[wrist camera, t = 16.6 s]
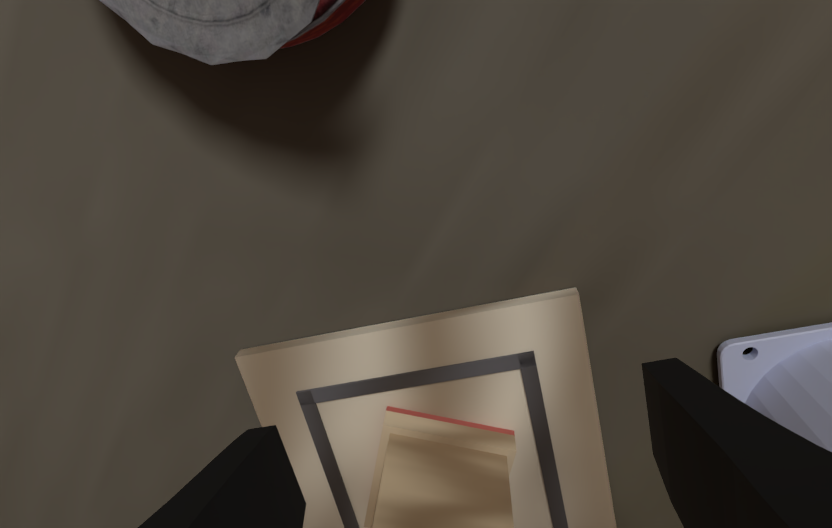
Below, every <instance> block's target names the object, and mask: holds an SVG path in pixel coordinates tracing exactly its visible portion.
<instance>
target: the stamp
mask: <svg viewBox="0 0 832 528" xmlns="http://www.w3.org/2000/svg"><path fill="white" fill-rule="evenodd" d="M516 452H517V450H516V442H515V434H514V431H513V430H508V429H503V428H498V427H492V426H487V425H482V424H477V423H472V422H467V421H462V420H457V419H452V418H446V417H441V416H436V415H431V414H426V413H421V412H416V411H411V410H406V409H400V408H395V407H390V406H387V408H386V413H385V418H384V423H383V428H382V433H381V438H380V444H379V449H378V454H377V459H376V465H375V470H374V475H373V480H372V486H371V491H370V496H369V501H368V507H367V512H366V517H365V522H364V527H367V528H514V523H513V513H512V503H511V493H510V483H509V475H510V472H511V468H512V465H513V462H514V458H515V455H516Z"/></svg>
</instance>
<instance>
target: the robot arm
mask: <svg viewBox="0 0 832 528" xmlns="http://www.w3.org/2000/svg"><path fill="white" fill-rule="evenodd" d="M749 347H753V350H752V351H751V352H750V353H749V354H746V355H742V354H743V351H744V350H745V349H747V348H749ZM717 363H718V376H719V386H717V385H716V384H714V383H713V382H711V381H710V380H708V379H707V378H705V377H704V376H702V375H701V374H700V373H698V372H697V371H695V370H694V369H692V368H691V367H689V366H688V365H686V364H685V363H683V362H682V361H680V360H679V359H677V358H671V359H665V360H659V361H654V362H648V363H642V370H643V378H644V386H645V394H646V402H647V410H648V418H649V426H650V434H651V441H652V449H653V455H654V457H655V460H656V463H657V465H658V468H659V471H660V474H661V476H662V479H663V482H664V484H665V487H666V490H667V492H668V495H669V497H670V500H671V502H672V505H673V507H674V509H675V511H676V512H677V514H678V516H679V518H680V520H681V522H682V524H683V526H684V528H832V322H831V323H825V324H819V325H813V326H807V327H801V328H795V329H789V330H783V331H777V332H771V333H765V334H759V335H753V336H747V337H741V338H735V339H730V340H727V341H724V342H723V343H722V344H720V346H719V347H718V349H717ZM305 509H306V502H305V499H304V497H303V494H302V491H301V489H300V486H299V484H298V481H297V478H296V476H295V473H294V471H293V468H292V465H291V463H290V460H289V458H288V455H287V452H286V450H285V447H284V445H283V442H282V440H281V437H280V434H279V432H278V429H277V427H276V425H272V426H266V427H260V428H254V429H248V430H247V431H246V432H244V433H243V434H242V435H240V436H239V437H238V438H237V439H236V440H234V441H233V442H232V443H231V444H230V445H229V446H228V447H226V448H225V449H224V450H223V451H222V452H221V453H220V454H219V455H218V456H217V457H216V458H214V459H213V460H212V461H211V462H210V463H209V464H208V465H207V466H206V467H205V468H204V469H203V470H202V471H201V472H199V473H198V474H197V475H196V476H195V477H194V478H193V479H192V480H191V481H190V482H189V483H188V484H187V485H185V486H184V487H183V488H182V489H181V490H180V491H179V492H178V493H177V494H176V495H175V496H174V497H172V498H171V499H170V500H169V501H168V502H167V503H166V504H165V505H163V506H162V507H161V508H160V509H159V510H158V511H157V512H155V513H154V514H153V515H152V516H151V517H150V518H148V519H147V520H146V521H145V522H144V523H143V524H142V525H140V526H139V527H138V528H303V523H304V516H305Z"/></svg>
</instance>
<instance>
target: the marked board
mask: <svg viewBox="0 0 832 528" xmlns="http://www.w3.org/2000/svg"><path fill="white" fill-rule="evenodd" d="M235 360H236V362H237V365H238V367H239V370H240V372H241V375H242V377H243V380H244V382H245V385H246V388H247V390H248V393H249V395H250V398H251V400H252V403H253V405H254V408H255V411H256V413H257V416H258V418H259V421H260V423H261V426H262V427H266V426H272V425H276V427H277V429H278V432H279V434H280V437H281V440H282V442H283V445H284V447H285V450H286V452H287V455H288V458H289V460H290V463H291V465H292V468H293V471H294V473H295V476H296V478H297V481H298V484H299V486H300V489H301V491H302V494H303V497H304V499H305V502H306V509H305V516H304V523H303V528H367V527H364V522H365V517H366V512H367V507H368V501H369V496H370V491H371V486H372V480H373V475H374V470H375V465H376V459H377V454H378V449H379V444H380V438H381V433H382V428H383V423H384V418H385V413H386V408H387V406H390V407H395V408H400V409H406V410H411V411H416V412H421V413H426V414H431V415H436V416H441V417H446V418H452V419H457V420H462V421H467V422H472V423H477V424H482V425H487V426H492V427H498V428H503V429H508V430H513V431H514V434H515V442H516V450H517V452H516V455H515V458H514V462H513V465H512V468H511V472H510V475H509V483H510V493H511V503H512V513H513V523H514V528H616V522H615V515H614V509H613V503H612V497H611V491H610V484H609V478H608V472H607V466H606V460H605V453H604V447H603V441H602V435H601V428H600V422H599V416H598V410H597V404H596V397H595V391H594V385H593V379H592V372H591V366H590V360H589V354H588V348H587V341H586V335H585V329H584V323H583V317H582V310H581V304H580V298H579V293H578V291H577V289H576V287H575V288H570V289H564V290H559V291H554V292H548V293H543V294H537V295H532V296H527V297H521V298H516V299H511V300H505V301H500V302H494V303H489V304H484V305H478V306H473V307H468V308H462V309H457V310H451V311H446V312H441V313H435V314H430V315H424V316H419V317H414V318H408V319H403V320H398V321H392V322H387V323H381V324H376V325H371V326H365V327H360V328H355V329H349V330H344V331H338V332H333V333H328V334H322V335H317V336H311V337H306V338H301V339H295V340H290V341H285V342H279V343H274V344H268V345H263V346H258V347H252V348H247V349H242V350H240V351H239V352H238V354H237V355H236V356H235Z"/></svg>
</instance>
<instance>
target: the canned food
mask: <svg viewBox="0 0 832 528" xmlns="http://www.w3.org/2000/svg"><path fill="white" fill-rule="evenodd" d="M99 1H101V2H102V3H103V4H105V5H106V6H107V7H109V8H110V9H111V10H112V11H114V12H115V13H116V14H118V15H119V16H120V17H122V18H123V19H124V20H126V21H127V22H128V23H129V24H130V25H131V26H132V27H133V28H135V29H136V30H137V31H138V32H139V33H140V34H141V35H142V36H144V37H145V38H146V39H147V40H148V41H149V42H150V43H151V44H153V45H156V46H159V47H162V48H165V49H169V50H172V51H175V52H178V53H182V54H184V55H187V56H189V57H192V58H194V59H197V60H199V61H202V62H204V63H207V64H209V65H216V64H223V63H230V62H236V61H246V60H259V59H267V58H269V57H270V56H271V55H272V54H273V53H275V52H276V51H277V50H278V49H280V48H289V47H293V46H295V45H298V44H301V43H304V42H307V41H310V40H313V39H315V38H318V37H320V36H321V35H323V34H325V33H326V32H328V31H329V30H331V29H333V28H334V27H336V26H338V25H339V24H341V23H342V22H344V21H345V20H346V19H347V18H348V17H349V16H350V15H351V14H352V13H353V12H354V11H355V10H356V9H357V8H358V7H359V6H361V5H362V4H363V3H364V2H365V1H366V0H99Z"/></svg>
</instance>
